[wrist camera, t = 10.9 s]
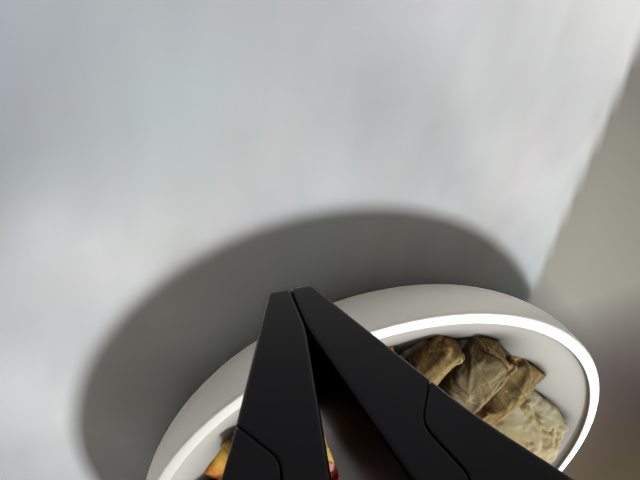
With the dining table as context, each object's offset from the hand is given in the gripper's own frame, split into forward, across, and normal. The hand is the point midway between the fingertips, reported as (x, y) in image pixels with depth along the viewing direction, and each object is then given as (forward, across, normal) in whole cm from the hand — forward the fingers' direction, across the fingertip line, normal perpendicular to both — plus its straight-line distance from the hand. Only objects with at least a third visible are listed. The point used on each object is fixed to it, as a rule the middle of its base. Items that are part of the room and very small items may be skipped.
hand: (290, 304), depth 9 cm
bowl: (+12, -7, +24) cm, 28 cm away
